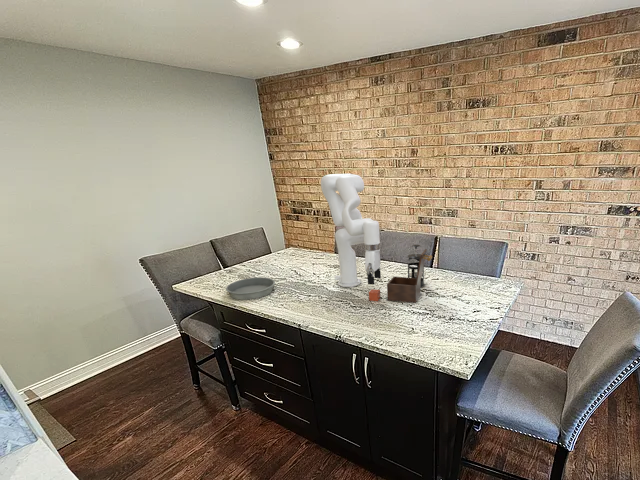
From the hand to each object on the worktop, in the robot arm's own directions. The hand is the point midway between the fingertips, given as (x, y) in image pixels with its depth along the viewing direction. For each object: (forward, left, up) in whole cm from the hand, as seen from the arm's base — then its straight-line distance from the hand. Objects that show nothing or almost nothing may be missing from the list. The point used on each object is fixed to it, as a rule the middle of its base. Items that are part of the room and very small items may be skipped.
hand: (374, 281), depth 167 cm
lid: (+22, +6, +7) cm, 24 cm away
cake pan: (-69, -5, -10) cm, 70 cm away
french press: (+16, +25, -10) cm, 31 cm away
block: (0, 0, -10) cm, 10 cm away
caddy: (+14, +6, -10) cm, 18 cm away
